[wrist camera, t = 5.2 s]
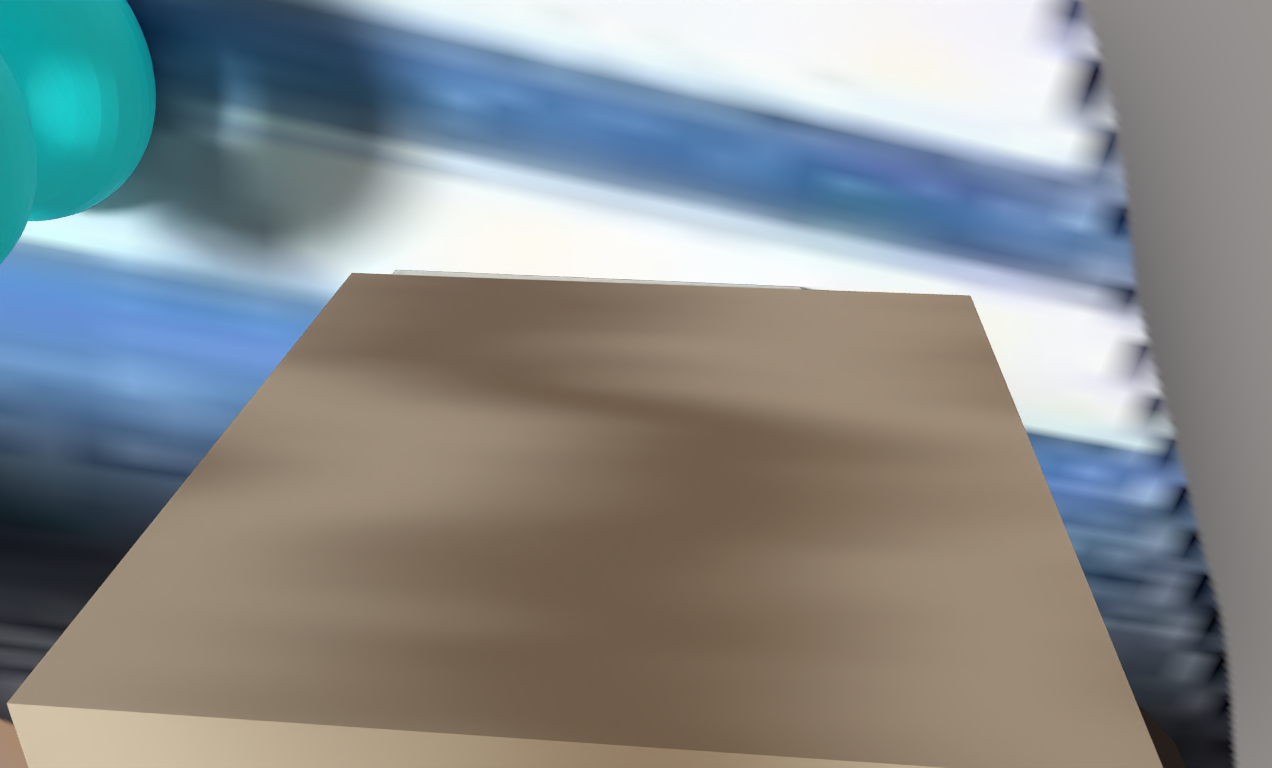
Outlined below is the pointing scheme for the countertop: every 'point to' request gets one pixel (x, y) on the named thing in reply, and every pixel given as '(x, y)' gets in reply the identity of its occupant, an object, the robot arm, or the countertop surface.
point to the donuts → (69, 107)
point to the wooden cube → (603, 550)
